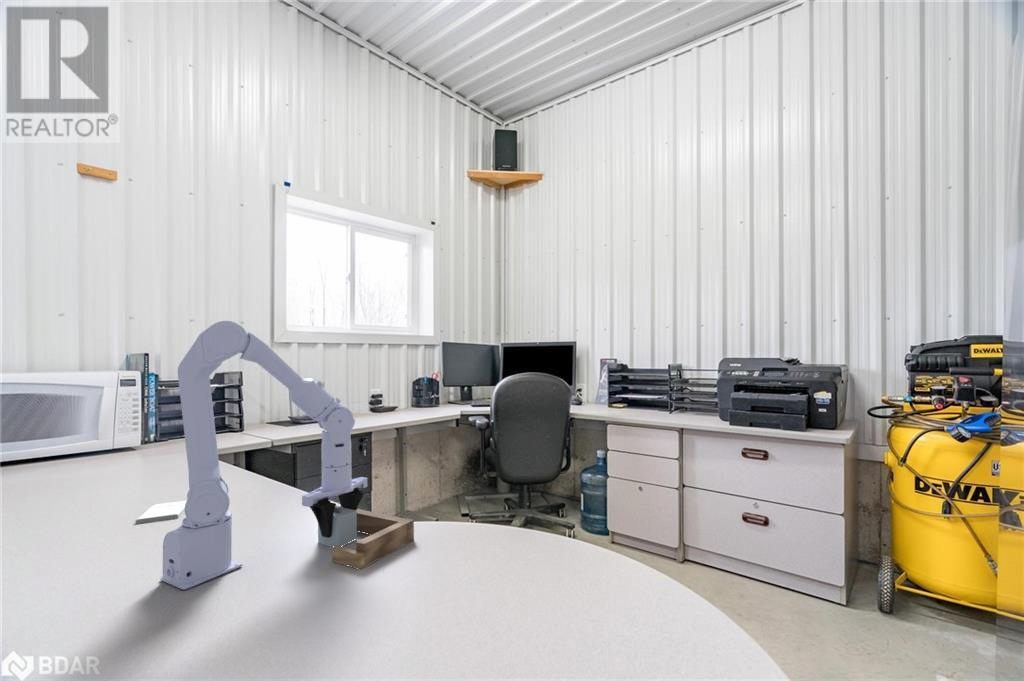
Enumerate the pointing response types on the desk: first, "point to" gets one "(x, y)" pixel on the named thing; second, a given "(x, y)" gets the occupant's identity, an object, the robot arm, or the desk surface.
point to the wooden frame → (375, 538)
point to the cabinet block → (341, 527)
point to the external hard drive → (162, 512)
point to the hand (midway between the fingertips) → (337, 531)
